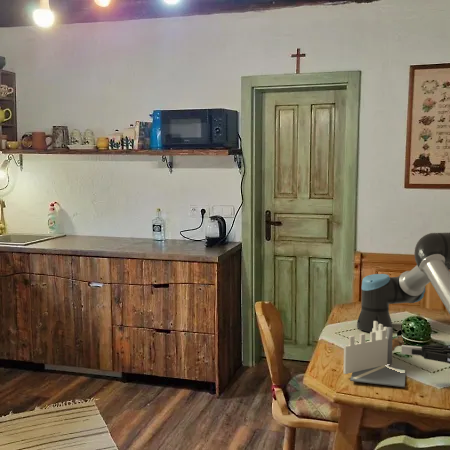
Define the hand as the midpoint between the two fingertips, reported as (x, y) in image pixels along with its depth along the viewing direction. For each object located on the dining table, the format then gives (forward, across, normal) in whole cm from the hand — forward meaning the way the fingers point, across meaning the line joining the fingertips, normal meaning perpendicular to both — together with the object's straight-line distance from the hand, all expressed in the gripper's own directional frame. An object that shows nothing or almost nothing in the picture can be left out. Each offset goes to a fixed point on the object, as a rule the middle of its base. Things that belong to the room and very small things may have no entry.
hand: (401, 349), depth 196 cm
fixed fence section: (+8, +17, -10) cm, 22 cm away
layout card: (+8, +9, -11) cm, 16 cm away
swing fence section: (+12, +4, -10) cm, 16 cm away
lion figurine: (+9, +32, -8) cm, 34 cm away
